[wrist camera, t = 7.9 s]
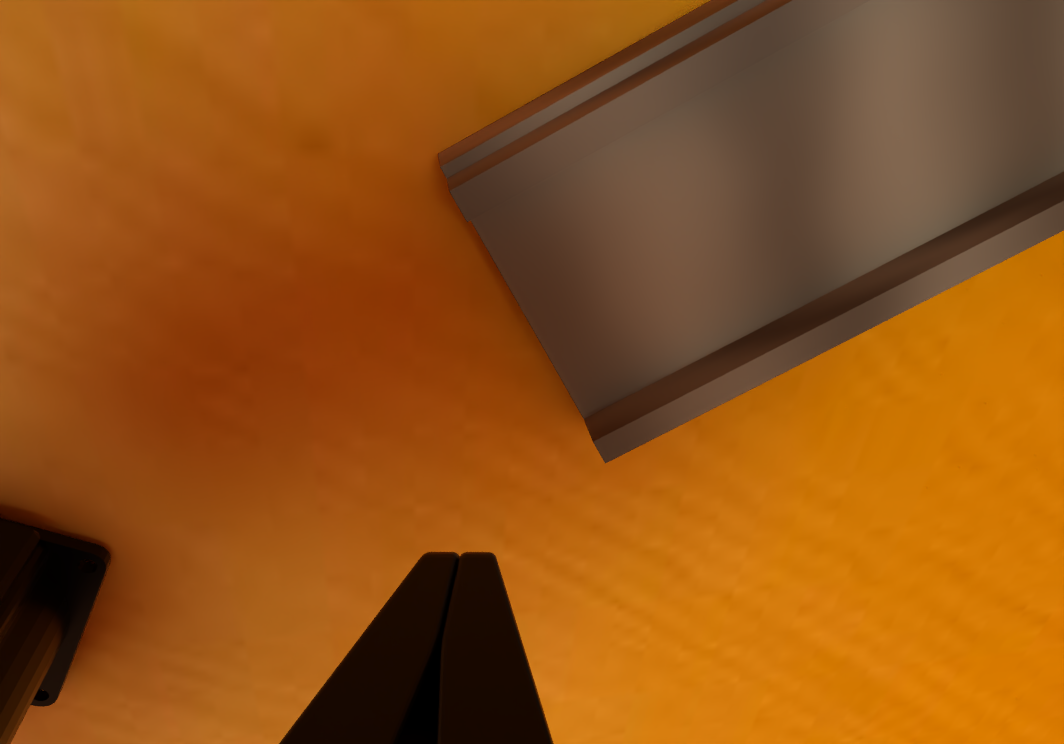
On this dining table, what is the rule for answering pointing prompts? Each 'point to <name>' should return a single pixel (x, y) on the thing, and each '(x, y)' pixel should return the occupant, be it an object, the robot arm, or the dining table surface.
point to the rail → (764, 190)
